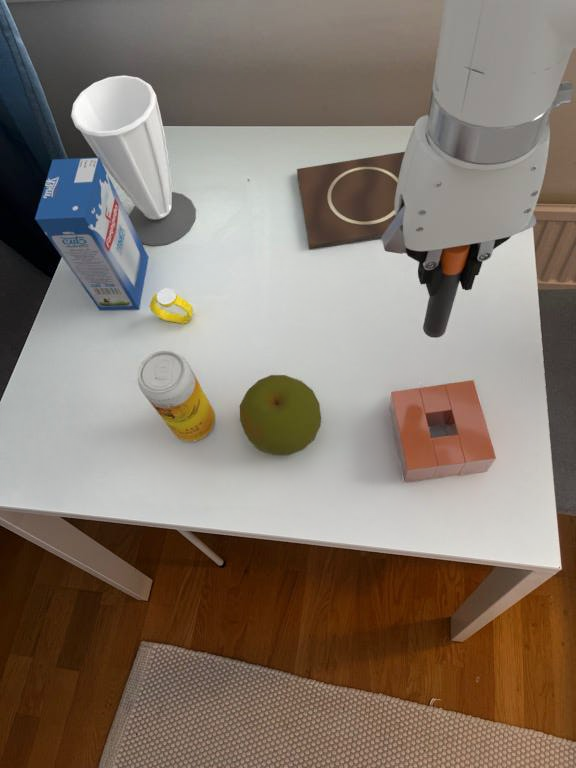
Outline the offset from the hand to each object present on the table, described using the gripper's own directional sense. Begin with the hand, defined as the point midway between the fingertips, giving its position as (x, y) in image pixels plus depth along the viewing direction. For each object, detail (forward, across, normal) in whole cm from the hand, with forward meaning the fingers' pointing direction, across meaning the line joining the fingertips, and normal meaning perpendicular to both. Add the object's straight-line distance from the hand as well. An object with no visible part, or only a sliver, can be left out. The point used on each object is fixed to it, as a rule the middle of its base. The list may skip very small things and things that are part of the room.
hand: (446, 279), depth 54 cm
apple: (+25, +18, +2) cm, 31 cm away
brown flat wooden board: (+25, 0, -34) cm, 42 cm away
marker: (+9, 0, 0) cm, 9 cm away
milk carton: (+25, +40, -26) cm, 54 cm away
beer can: (+25, +30, -1) cm, 39 cm away
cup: (+25, +33, -38) cm, 57 cm away
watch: (+25, +32, -18) cm, 44 cm away
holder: (+25, -1, +7) cm, 26 cm away
